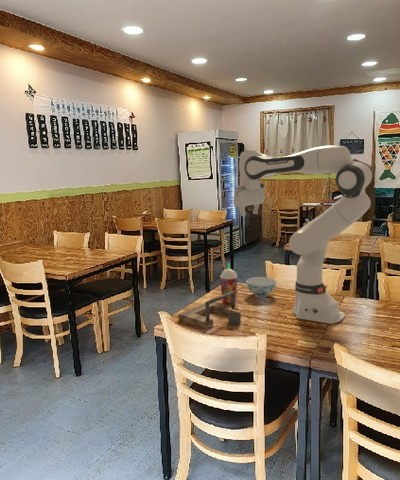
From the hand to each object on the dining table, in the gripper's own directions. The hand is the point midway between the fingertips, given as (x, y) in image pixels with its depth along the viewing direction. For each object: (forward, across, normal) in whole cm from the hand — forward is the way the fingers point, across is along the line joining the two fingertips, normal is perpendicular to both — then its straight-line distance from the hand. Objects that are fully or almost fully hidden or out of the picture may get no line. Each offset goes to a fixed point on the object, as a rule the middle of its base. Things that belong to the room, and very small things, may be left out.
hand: (249, 214), depth 191 cm
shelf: (+43, -27, +3) cm, 51 cm away
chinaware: (+43, +12, +2) cm, 45 cm away
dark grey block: (+43, -25, -10) cm, 51 cm away
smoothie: (+43, -8, +7) cm, 44 cm away
